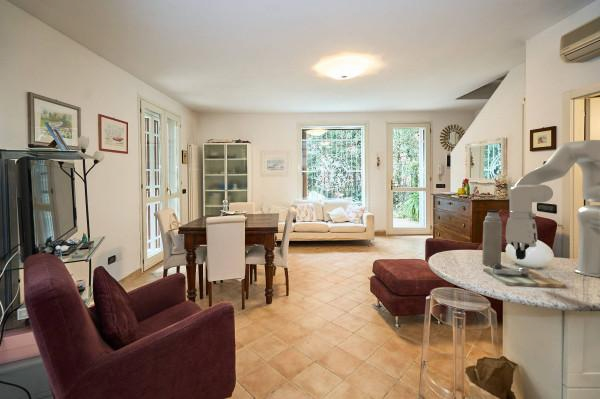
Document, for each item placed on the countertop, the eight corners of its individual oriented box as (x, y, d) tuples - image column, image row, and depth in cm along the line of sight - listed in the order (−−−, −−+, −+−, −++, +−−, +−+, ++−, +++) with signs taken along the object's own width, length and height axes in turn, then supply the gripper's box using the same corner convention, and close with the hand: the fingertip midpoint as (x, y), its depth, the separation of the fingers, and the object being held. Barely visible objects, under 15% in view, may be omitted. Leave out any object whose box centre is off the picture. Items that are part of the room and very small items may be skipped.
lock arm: (526, 274, 131) (526, 264, 131) (530, 276, 128) (530, 267, 127) (493, 272, 134) (493, 263, 134) (496, 274, 131) (496, 265, 130)
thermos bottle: (479, 262, 156) (480, 209, 155) (495, 262, 156) (496, 209, 154) (487, 266, 148) (488, 211, 147) (504, 267, 148) (506, 211, 146)
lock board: (534, 272, 138) (534, 263, 138) (565, 287, 118) (566, 277, 118) (483, 270, 141) (483, 262, 141) (505, 284, 122) (506, 274, 121)
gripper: (546, 216, 119) (546, 261, 120) (506, 213, 132) (506, 253, 133) (537, 218, 115) (537, 264, 117) (496, 215, 128) (496, 256, 130)
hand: (520, 258), depth 125 cm, fingers closed
